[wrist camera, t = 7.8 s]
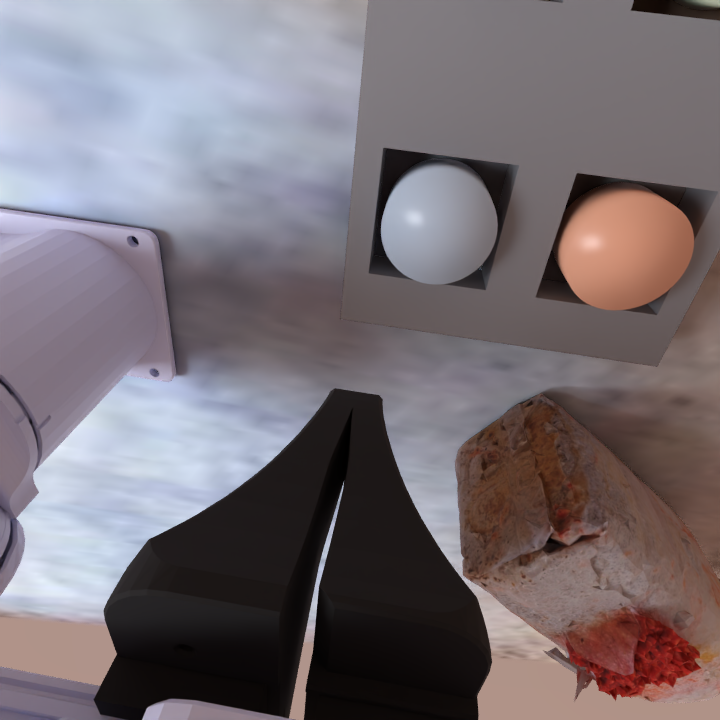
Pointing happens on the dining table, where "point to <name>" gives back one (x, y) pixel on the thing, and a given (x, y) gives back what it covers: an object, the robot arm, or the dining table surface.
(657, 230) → the terracotta button
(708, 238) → the button panel
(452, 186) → the blue button
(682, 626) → the food item
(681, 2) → the sage button
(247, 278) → the dining table surface
